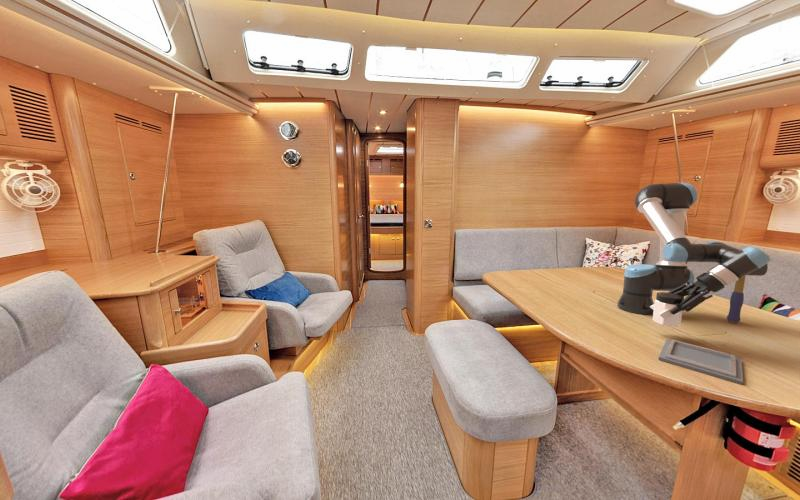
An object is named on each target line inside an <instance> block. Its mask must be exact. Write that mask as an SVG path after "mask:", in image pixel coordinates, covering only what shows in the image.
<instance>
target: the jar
mask: <svg viewBox="0 0 800 500" xmlns="http://www.w3.org/2000/svg"><path fill="white" fill-rule="evenodd" d="M667 292H668V291H658V292H657V293H656V297H655V300H654V312H653V314H652V319H651V320H652V322H654V323H657V324H659V325H661V326H665V327H672V328H673V327H675V328H678V327H679V326H680V325H681V324H682V317H683V313H684V311H680V312H678V313H676V314H674V315H673V316H671V317H669V318H667V319H663V318H662V317H661V316H660V315H659V314H660V313H661V312H663V311H665V310H667V309H668V308H670V307H672V306H674V305H676V304H679V303H680V302H681V301H682V300H683V299H685V297H683V296H681V295H678V294H674V293H667ZM676 306H677V305H676Z"/></svg>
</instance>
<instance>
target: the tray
mask: <svg viewBox="0 0 800 500" xmlns="http://www.w3.org/2000/svg"><path fill="white" fill-rule="evenodd" d="M670 341H671V342H670V345H669V347H668V349H667V352H666V355H665V357H666V358H670V359H673V360H677V361H680V362H684V363H687V364H690V365H694V366H697V367H701V368H704V369H708V370H711V371H715V372H718V373H722V374H725V375H729V376H732V377H736V360H735V357H736V355H735V354H732V353H728V352H723V351H720V350H716V349H711V348H707V347H704V346H700V345H695V344H692V343H689V342H688V343H687V342H683V341H679V340H676V339H671V340H670ZM674 344H676V345H680V346H684V347H688V348H692V349H696V350H700V351H704V352H707V353H711V354H715V355H719V356H723V357H727V358H730V371H728V370H725V369H721V368H718V367H714V366H710V365H707V364H703V363H700V362H696V361H693V360H689V359H685V358H682V357H678V356H675V355H671V352H672V349H673V346H674Z"/></svg>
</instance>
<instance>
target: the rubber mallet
mask: <svg viewBox="0 0 800 500" xmlns="http://www.w3.org/2000/svg"><path fill="white" fill-rule="evenodd" d="M768 269H769V268H768V263H767V264H765V265H764V266H762V267H761V268H760V269H757V270H755V271H753V272H751V273H750V274H748V275H747V276H762V277H763V276H765V275H766V274H767V272H768ZM745 280H746V276H744V277H742V278H741V279H738V280H737V281H735V282H734V283H735V284H734V289H733V292H732V293H731V295H730V296H731V297H730V299H729V311H728V313H727V314H728V315H727V316H726V320H727V321H728V322H729V323H732V324H739V323H740V322H741V312H742V307H743V305H744V298H745V296H744V286H745V282H746V281H745Z"/></svg>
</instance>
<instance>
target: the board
mask: <svg viewBox="0 0 800 500" xmlns="http://www.w3.org/2000/svg"><path fill="white" fill-rule="evenodd" d="M670 342H671V340H669V339H666V340H665V341H664V345H663V346H662V349H661V352H660V353H659V355H658V360H659V361H662V362H666V363H669V364H670V365H671V364H672V365H675V366H679V367H682V368H686V369H688V370H692V371H695V372H699V373H701V374H702V373H703V374H706V375H708V376H712V377H715V378H719V379H722V380H725V381H730V382H732V383H735V384H738V385H743V384H744V377H743V375H744V374H743V363H742V358H740V357H737V356H735V360H736V377H732V376H729V375H725V374H722V373H718V372H715V371H711V370H708V369H704V368H701V367H697V366H694V365H690V364H687V363H684V362H680V361H677V360H673V359H670V358H666V357H665V355H666V352H667V349H668V347H669V345H670ZM671 355H675V356H678V357H682V358H685V359H689V360H693V361H696V362H700V363H703V364H707V365H710V366H714V367H718V368H721V369H725V370H728V371H730V358H727V357H723V356H719V355H715V354H711V353H707V352H704V351H700V350H696V349H692V348H688V347H684V346H680V345H676V344H674V346H673V349H672V352H671Z"/></svg>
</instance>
